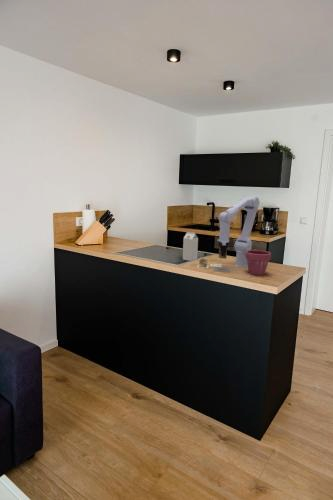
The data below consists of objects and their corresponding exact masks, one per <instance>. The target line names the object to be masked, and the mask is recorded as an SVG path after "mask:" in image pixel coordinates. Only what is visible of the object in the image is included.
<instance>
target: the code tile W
mask: <svg viewBox="0 0 333 500" xmlns="http://www.w3.org/2000/svg"><path fill="white" fill-rule="evenodd" d="M222 265H223V263H221V264H220V263H218V264H217V263H210V267H214V268H215V267H221V268H223V266H222Z"/></svg>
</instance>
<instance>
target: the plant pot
mask: <svg viewBox="0 0 333 500" xmlns="http://www.w3.org/2000/svg"><path fill="white" fill-rule="evenodd" d="M245 257H246V258H247V264H248V267H247V269H248V270H247V271H248V273H249V274H250V275H253V276H264V275H265V274H266V271H267V267H268V264H269V261H270V260H271V257H272V253H271V252H270V251H266V250H261V249H259V250H258V249H251V250H248V251H246V255H245Z"/></svg>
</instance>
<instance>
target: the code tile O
mask: <svg viewBox="0 0 333 500" xmlns="http://www.w3.org/2000/svg"><path fill="white" fill-rule="evenodd" d="M209 265H210V264H209ZM209 265H208V264H207V267H199V264H197V266H196V268H202V269H203V268H204V269H209V267H210V266H209Z"/></svg>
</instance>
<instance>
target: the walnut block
mask: <svg viewBox="0 0 333 500" xmlns="http://www.w3.org/2000/svg"><path fill="white" fill-rule="evenodd" d="M227 250H228V249H227ZM227 250H226V255H225V256H221V249H220V248H219V249H218V259H225V260H226V259H227V254H228V253H227V252H228V251H227Z"/></svg>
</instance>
